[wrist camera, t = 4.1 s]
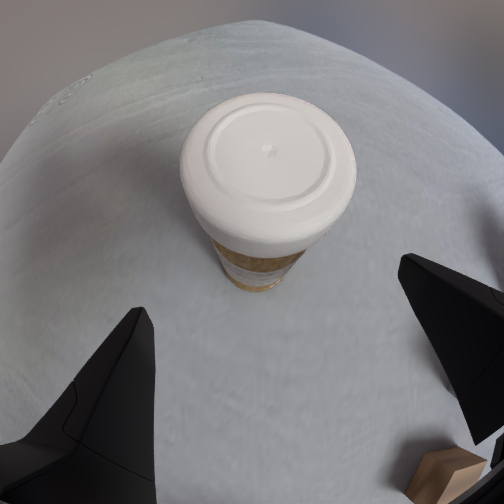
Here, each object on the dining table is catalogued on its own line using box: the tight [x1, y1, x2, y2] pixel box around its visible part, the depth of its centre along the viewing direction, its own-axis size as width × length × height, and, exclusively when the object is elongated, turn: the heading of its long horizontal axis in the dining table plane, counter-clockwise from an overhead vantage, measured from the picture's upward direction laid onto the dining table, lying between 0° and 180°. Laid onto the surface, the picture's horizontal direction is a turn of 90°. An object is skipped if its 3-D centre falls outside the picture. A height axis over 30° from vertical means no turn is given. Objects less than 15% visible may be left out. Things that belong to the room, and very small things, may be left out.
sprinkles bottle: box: [180, 93, 356, 292], centre depth 13 cm, size 5×5×14 cm
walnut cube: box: [404, 447, 488, 504], centre depth 13 cm, size 5×5×5 cm
